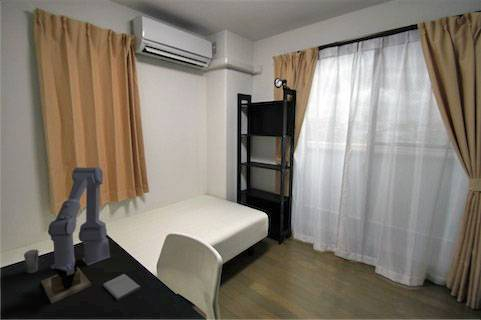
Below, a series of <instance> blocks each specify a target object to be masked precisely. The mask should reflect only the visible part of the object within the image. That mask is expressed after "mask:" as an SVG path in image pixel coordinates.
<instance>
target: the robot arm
mask: <svg viewBox="0 0 481 320" xmlns="http://www.w3.org/2000/svg"><path fill="white" fill-rule="evenodd" d="M71 174H72V175H71V178H72V181H73V184H72V187H71V190H70V193H69V196H68V199H66V200H65V201H63V202H62V205H61V207H60V210H59V211H58V213H57V216H56V218H55V220H53V221H51V222H50V223H49V225H48V230H47V233H48V235H49V237H50V240H51V241H52V242H53V255H54V263H53V264H51V265H50V268H51V269H52V270H53V269H54V270H55V271H56V273H57V274H56V275H59V277H60V278H61V279H62V282H63V286H64V288H65V289H67V288H69V287H72V284H73V279H74V276H75V273H76V272H77V267H78V266H75V264H76V258H75V248H74V232H75V231H76V229H77V220H78V219H77V216H78V212H79V210H80V208H81V203H80V200H81V198H82V195H83V194H84V192H85V190H86V199H85V200H86V202H85V203H86V206H85V208H86V209H85V211H86V212H85V217H86V218H85V222H84V223H82V224H81V225H80V226H79V232H78V240H79V242H81V243H82V245H83V248H84V257H82V258H81V260H82V261H83V263H85V265H87V266H91V265H93V264H96V263H99V262H101V261H104V260H107V259H109V258H110V257H111V255H110V243H109V239H108V237H106V236H107V234H108V233H107V231H108V230H107V226H106V223H105V222H104V221H102V220H101V219H100V185H102V184H103V179H104V176H103V175H104V173H103V170H102V168H101V167H100V166H96V167H95V166H93V167H79V166H77V167H75V168H74V169H73V170H72V173H71Z"/></svg>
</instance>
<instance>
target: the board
mask: <svg viewBox="0 0 481 320" xmlns="http://www.w3.org/2000/svg"><path fill="white" fill-rule="evenodd" d="M76 267H77V269H78V270H79V271H80V278H81V283H80V284H78V285H75V286H73V287H70V288H68V289H66V290H63V291H61V292H59V293H56V294H54V293H53V291H52V286H51V278H52V277H55V276H57V275H58V274H56V275H54V276H53V275H52V276H51V277H48V278H45V279H42V280H41V286H42V288H43V290H44V292H45V293H46V296H47V298H48V300H49V302H50V304H53V303H56V302H58V301H60V300H63V299H65V298H67V297H70V296H72V295H74V294H76V293H78V292H81V291H83V290H85V289H87V288H89V287H91V286H92V282H91V281H90V280H89V279H88V277H86V275H85V273H84V272H83V271H82V270H81V269H80V268H79V267H78V266H76Z"/></svg>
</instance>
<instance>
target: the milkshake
mask: <svg viewBox="0 0 481 320" xmlns="http://www.w3.org/2000/svg"><path fill="white" fill-rule="evenodd" d="M23 258H24V261H25V267H26V272H27V273H28V274H33V273H35V272H37V271H38V270H39V269H38V268H39V250H38V249H29V250H27V251H25V252H24V254H23Z"/></svg>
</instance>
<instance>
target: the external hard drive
mask: <svg viewBox="0 0 481 320" xmlns="http://www.w3.org/2000/svg"><path fill="white" fill-rule="evenodd" d="M102 285H103V287H104V289H106V290H107V291H108V292H109V293H110V294H111V295H112V296H113V297H114V298H115V299H116V301H120V300H122V299H124V298H126V297H127V296H129V295H131V294H133V293H135V292H136V291H138V290H140V289H141V286H140V285H139V284H137V283H136V282H135V281H134V280H133V279H131V278H130V277H129V276H128V275H126V274H125V273H122V274H121V275H119V276H117V277H115V278H113V279H111V280H108V281H106V282H105V283H103V284H102Z"/></svg>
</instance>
